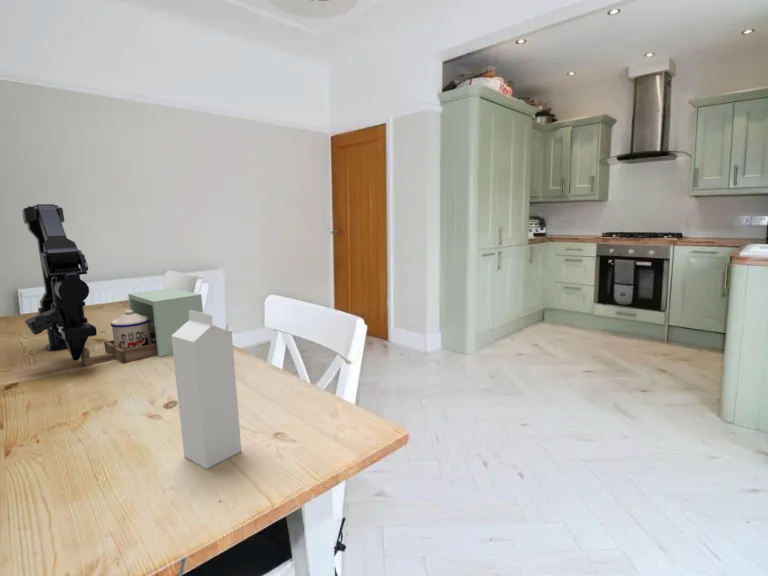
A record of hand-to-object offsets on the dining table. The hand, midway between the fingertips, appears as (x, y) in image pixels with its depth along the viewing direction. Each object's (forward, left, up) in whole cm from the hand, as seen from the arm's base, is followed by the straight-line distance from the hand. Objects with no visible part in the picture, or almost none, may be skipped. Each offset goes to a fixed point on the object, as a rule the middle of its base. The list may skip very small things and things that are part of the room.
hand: (76, 360), depth 108 cm
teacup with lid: (0, +15, -2) cm, 15 cm away
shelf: (0, +22, -2) cm, 22 cm away
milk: (+66, +3, -2) cm, 66 cm away
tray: (0, +13, -1) cm, 13 cm away
